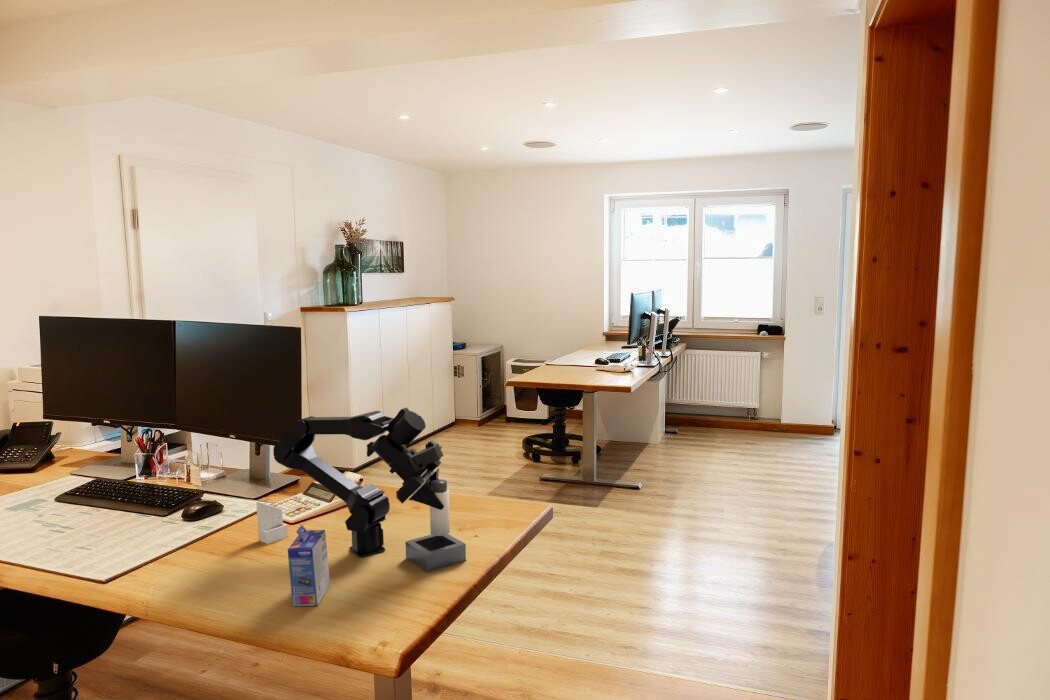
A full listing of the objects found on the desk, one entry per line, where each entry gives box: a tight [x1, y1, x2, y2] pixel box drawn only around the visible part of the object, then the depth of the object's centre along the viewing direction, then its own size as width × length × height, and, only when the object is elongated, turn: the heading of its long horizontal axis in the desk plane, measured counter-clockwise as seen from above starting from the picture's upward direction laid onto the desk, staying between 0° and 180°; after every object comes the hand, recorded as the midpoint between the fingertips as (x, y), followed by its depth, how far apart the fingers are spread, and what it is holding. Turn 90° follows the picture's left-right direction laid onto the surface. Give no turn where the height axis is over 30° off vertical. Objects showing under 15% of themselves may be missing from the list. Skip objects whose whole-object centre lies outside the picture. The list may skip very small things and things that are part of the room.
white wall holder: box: [255, 501, 289, 545], centre depth 171 cm, size 4×10×9 cm, turn 143°
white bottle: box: [429, 479, 451, 536], centre depth 158 cm, size 4×4×12 cm
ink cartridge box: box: [287, 524, 330, 607], centre depth 141 cm, size 10×6×14 cm, turn 2°
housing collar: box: [405, 533, 467, 573], centre depth 158 cm, size 10×10×4 cm
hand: (445, 504), depth 158 cm, fingers closed on white bottle, 4 cm apart
